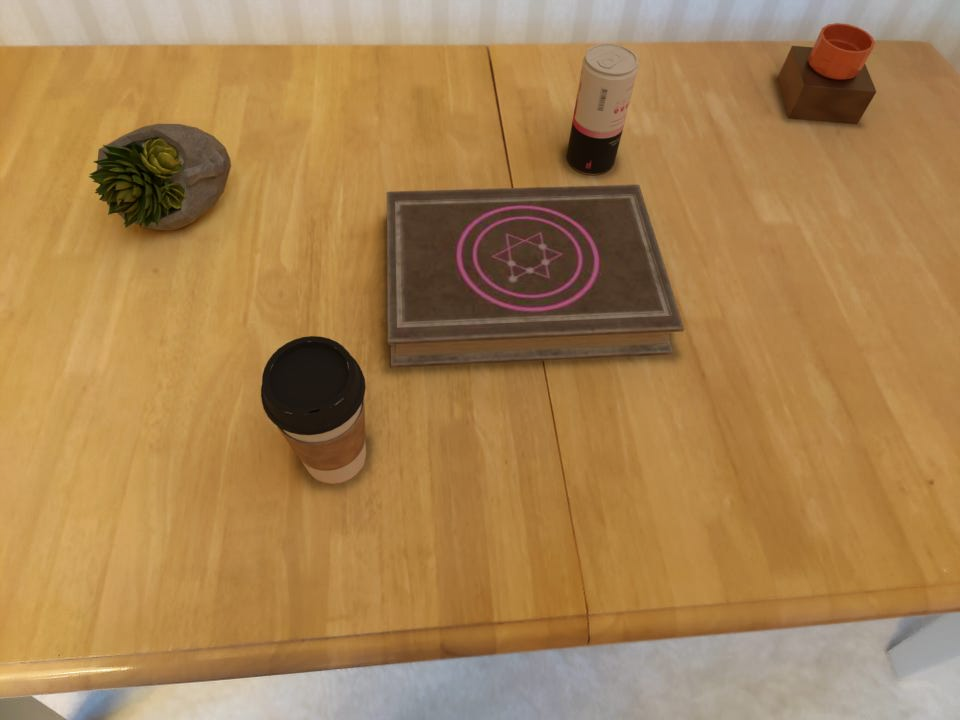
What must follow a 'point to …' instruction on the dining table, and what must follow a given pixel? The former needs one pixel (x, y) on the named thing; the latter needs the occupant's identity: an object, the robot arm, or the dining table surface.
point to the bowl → (840, 51)
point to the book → (525, 276)
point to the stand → (822, 91)
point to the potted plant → (162, 175)
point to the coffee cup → (318, 405)
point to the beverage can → (601, 107)
